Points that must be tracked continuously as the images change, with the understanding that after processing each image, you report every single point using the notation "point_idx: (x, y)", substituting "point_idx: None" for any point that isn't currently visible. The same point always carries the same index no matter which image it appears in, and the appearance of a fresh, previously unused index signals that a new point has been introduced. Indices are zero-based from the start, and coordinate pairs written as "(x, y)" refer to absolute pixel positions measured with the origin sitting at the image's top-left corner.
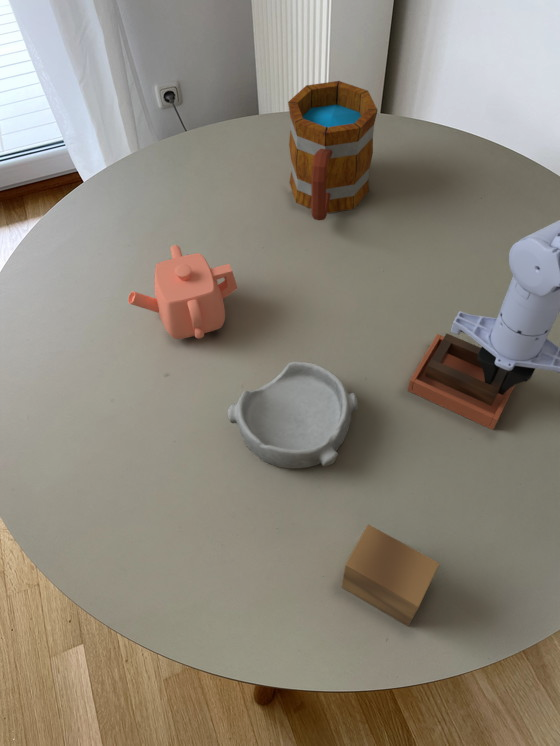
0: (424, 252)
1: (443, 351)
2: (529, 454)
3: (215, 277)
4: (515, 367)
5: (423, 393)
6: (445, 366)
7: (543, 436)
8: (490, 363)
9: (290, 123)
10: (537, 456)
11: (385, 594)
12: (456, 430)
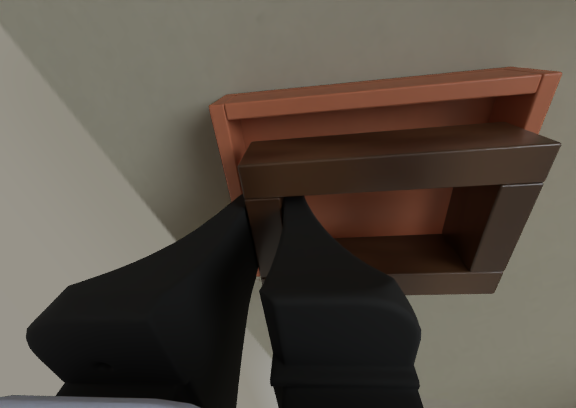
0: (521, 380)
1: (495, 233)
2: (112, 82)
3: None
4: (139, 352)
5: (467, 74)
6: (474, 179)
7: (128, 153)
8: (304, 309)
9: None
10: (95, 89)
11: None
12: (311, 20)
